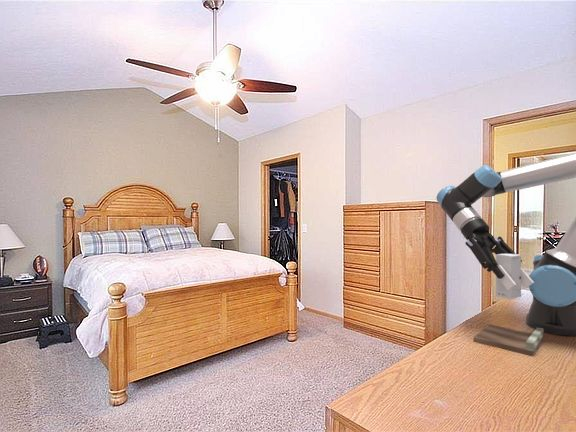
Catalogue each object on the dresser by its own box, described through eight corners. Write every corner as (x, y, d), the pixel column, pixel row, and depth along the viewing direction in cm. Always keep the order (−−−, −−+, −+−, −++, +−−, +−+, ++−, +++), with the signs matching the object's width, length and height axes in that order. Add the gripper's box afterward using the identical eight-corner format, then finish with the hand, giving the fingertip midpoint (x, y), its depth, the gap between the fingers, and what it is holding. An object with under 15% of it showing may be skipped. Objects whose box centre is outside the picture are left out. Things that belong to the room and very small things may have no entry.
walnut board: (489, 328, 111) (489, 318, 111) (543, 339, 101) (543, 328, 101) (473, 341, 99) (473, 330, 99) (532, 356, 89) (533, 343, 89)
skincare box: (511, 299, 96) (512, 255, 96) (494, 296, 100) (495, 254, 100) (521, 296, 100) (522, 254, 100) (505, 293, 104) (505, 252, 103)
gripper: (485, 232, 118) (534, 290, 103) (441, 233, 110) (487, 296, 95) (500, 216, 113) (554, 276, 98) (455, 217, 105) (505, 281, 90)
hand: (521, 286), depth 97 cm, fingers closed on skincare box, 6 cm apart
